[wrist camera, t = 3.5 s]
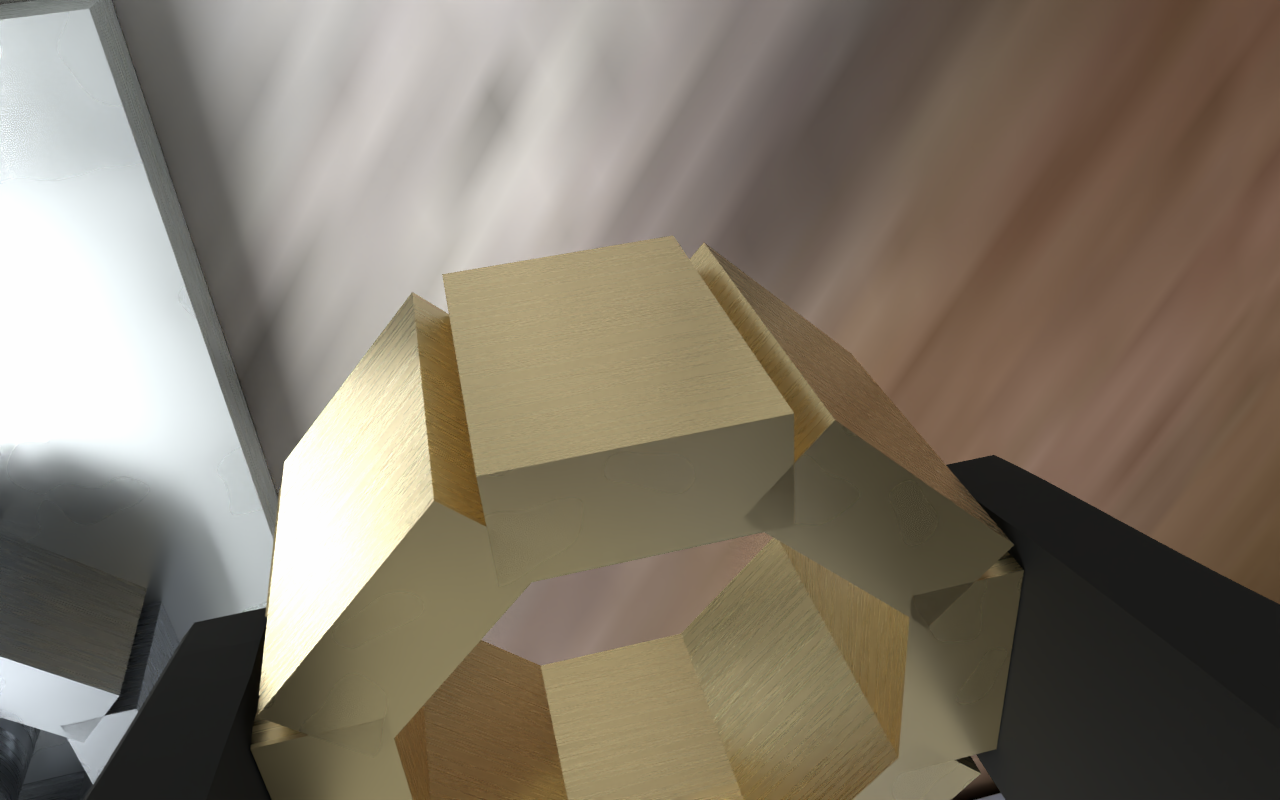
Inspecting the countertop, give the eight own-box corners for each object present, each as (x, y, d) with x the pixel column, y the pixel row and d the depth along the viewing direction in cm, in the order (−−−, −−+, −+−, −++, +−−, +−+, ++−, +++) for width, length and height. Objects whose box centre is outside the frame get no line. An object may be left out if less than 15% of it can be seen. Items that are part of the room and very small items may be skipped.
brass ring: (868, 202, 9) (1055, 361, 7) (850, 651, 12) (976, 877, 10) (221, 311, 8) (163, 540, 6) (370, 765, 11) (373, 1044, 9)
